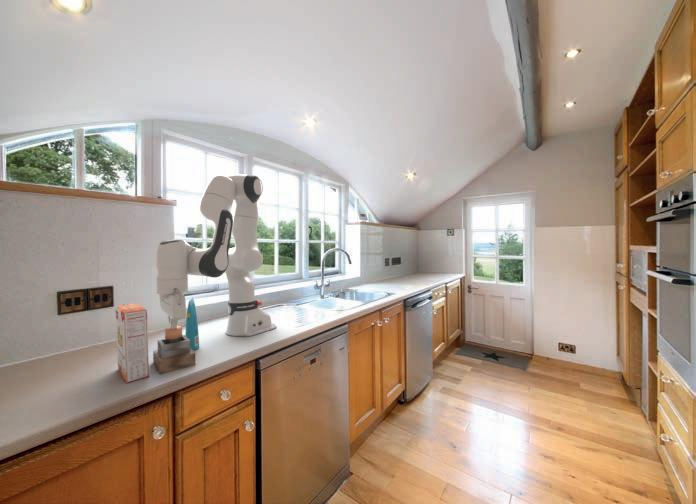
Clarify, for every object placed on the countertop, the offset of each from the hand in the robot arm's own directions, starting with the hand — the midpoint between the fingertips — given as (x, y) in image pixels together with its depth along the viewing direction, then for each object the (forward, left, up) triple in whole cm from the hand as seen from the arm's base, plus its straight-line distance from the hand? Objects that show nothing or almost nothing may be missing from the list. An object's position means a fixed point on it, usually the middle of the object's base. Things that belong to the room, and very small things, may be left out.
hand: (173, 328), depth 93 cm
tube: (-8, -11, -12) cm, 18 cm away
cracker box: (+11, -1, -12) cm, 16 cm away
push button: (0, 0, -5) cm, 5 cm away
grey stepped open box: (0, 0, -12) cm, 12 cm away
